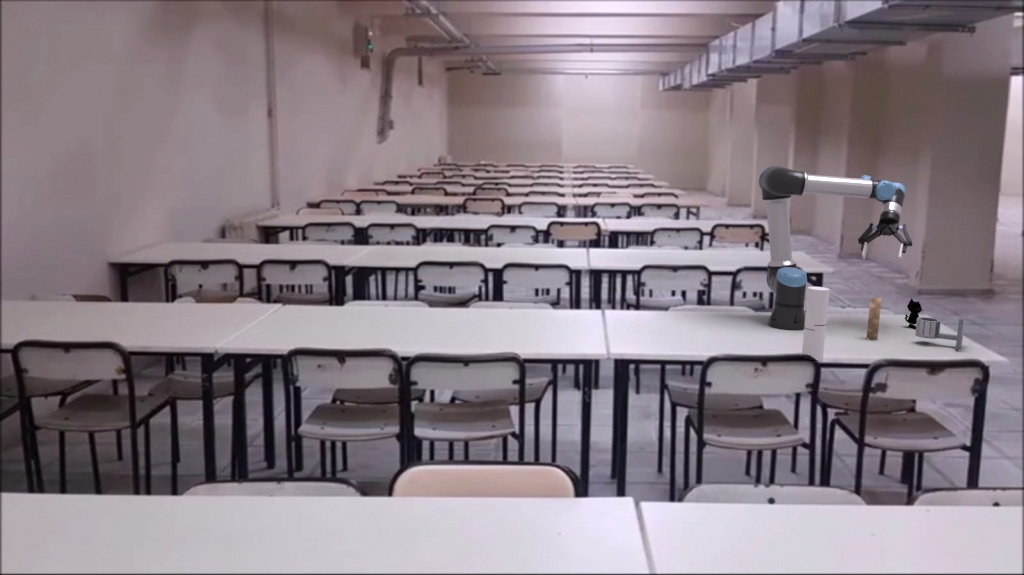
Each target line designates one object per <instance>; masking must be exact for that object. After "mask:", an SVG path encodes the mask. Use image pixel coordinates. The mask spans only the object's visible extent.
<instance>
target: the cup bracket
mask: <svg viewBox="0 0 1024 575" xmlns="http://www.w3.org/2000/svg"><path fill="white" fill-rule="evenodd" d="M966 315H967V314H966V313H965V314H964V313H960V316H959V319H958V325H957V334H950V333H944V332H942V333H941V332H940V331H941V323H942V321H941V319H938V318H935V317H926V316H924V317H923V316H919V317H918V318H917V322H916V324H915V326H916V329H915V336H916V337H918V338H922V339H930V340H931V339H933V340H935V339H941V340H948V341H949V340H950V341H956V342H955V349H954V350H960V351H961V348H962V347H961V346H963V339H964V331H965V322H966Z"/></svg>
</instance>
